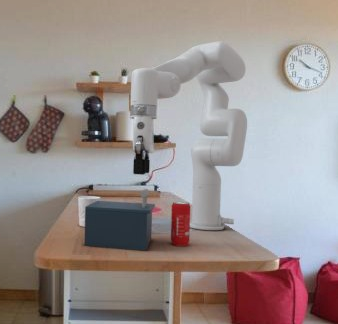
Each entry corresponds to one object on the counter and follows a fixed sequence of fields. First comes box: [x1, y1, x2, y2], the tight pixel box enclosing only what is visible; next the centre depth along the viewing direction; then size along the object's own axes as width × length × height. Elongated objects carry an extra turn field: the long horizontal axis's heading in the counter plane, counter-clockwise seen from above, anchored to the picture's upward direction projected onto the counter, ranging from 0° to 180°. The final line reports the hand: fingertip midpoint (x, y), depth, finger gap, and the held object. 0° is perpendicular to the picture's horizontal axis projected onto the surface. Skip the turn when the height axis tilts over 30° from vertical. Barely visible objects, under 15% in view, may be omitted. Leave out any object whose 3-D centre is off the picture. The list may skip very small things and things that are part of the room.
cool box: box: [83, 210, 153, 252], centre depth 112 cm, size 17×14×10 cm
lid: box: [85, 188, 156, 213], centre depth 112 cm, size 18×14×6 cm
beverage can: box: [170, 201, 191, 247], centre depth 112 cm, size 5×5×12 cm
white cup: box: [77, 195, 101, 228], centre depth 137 cm, size 8×8×10 cm
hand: (141, 173), depth 110 cm, fingers open, 9 cm apart
